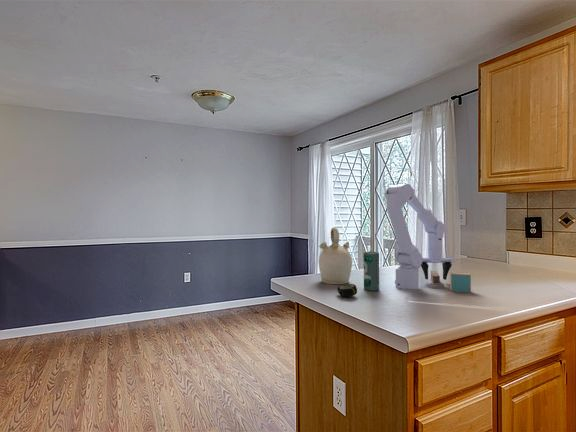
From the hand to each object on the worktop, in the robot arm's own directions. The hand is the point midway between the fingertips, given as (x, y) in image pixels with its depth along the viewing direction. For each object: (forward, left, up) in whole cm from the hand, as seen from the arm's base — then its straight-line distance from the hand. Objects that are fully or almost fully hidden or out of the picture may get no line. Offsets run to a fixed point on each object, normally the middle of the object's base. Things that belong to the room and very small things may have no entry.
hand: (435, 279), depth 151 cm
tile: (+8, -13, -2) cm, 15 cm away
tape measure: (-33, -30, -2) cm, 45 cm away
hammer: (0, 0, -2) cm, 2 cm away
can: (-26, -18, -2) cm, 32 cm away
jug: (-43, -8, -2) cm, 44 cm away
